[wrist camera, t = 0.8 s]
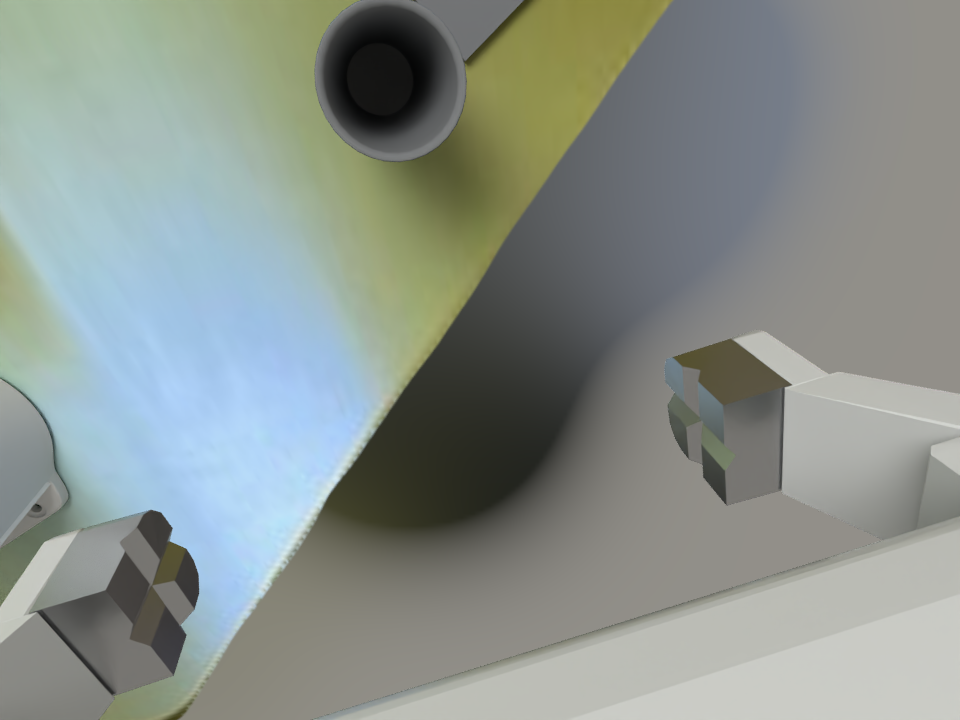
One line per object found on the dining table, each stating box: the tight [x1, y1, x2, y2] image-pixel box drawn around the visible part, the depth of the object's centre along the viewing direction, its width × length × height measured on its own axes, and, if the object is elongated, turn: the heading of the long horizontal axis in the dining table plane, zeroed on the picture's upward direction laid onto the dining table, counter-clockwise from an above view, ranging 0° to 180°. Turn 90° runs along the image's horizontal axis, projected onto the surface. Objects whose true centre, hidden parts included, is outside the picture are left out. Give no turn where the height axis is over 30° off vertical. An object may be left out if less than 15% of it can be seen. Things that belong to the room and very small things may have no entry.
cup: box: [315, 0, 467, 162], centre depth 33 cm, size 7×7×15 cm
